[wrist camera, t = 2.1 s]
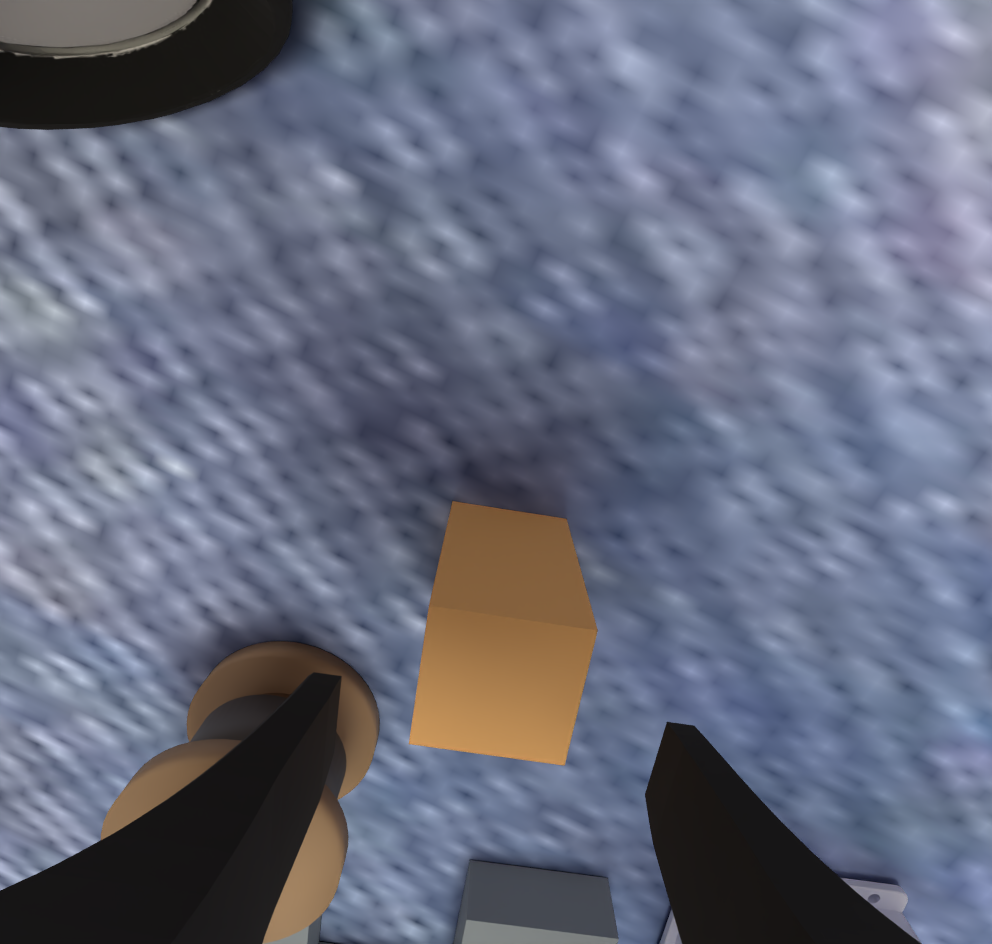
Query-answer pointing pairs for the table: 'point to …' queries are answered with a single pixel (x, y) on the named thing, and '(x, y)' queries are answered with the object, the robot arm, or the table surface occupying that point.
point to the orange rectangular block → (504, 638)
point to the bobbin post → (231, 718)
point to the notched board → (522, 908)
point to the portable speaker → (129, 57)
